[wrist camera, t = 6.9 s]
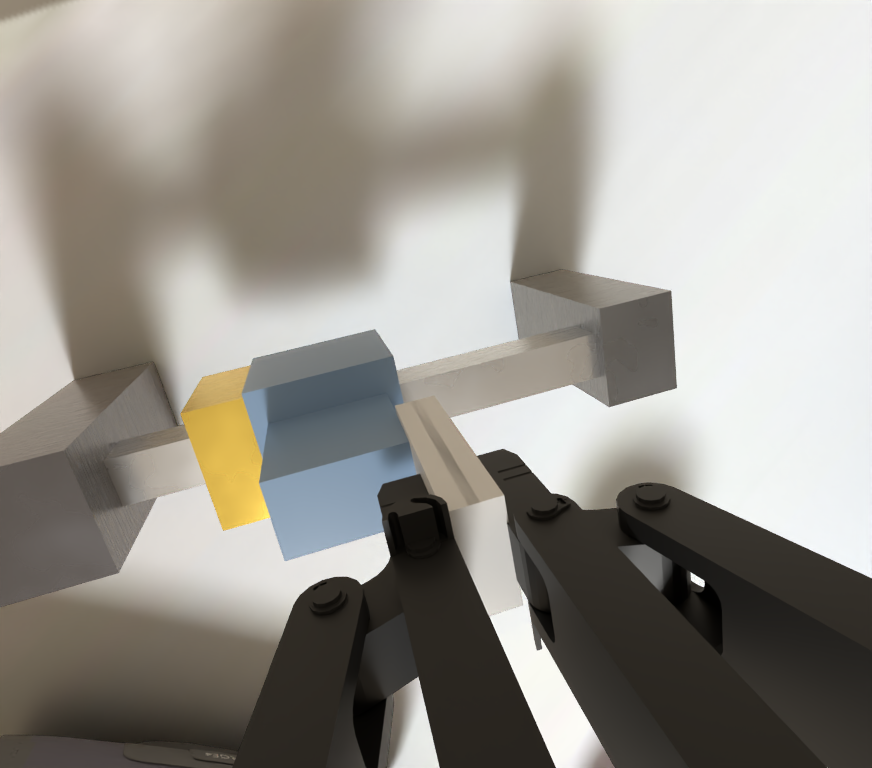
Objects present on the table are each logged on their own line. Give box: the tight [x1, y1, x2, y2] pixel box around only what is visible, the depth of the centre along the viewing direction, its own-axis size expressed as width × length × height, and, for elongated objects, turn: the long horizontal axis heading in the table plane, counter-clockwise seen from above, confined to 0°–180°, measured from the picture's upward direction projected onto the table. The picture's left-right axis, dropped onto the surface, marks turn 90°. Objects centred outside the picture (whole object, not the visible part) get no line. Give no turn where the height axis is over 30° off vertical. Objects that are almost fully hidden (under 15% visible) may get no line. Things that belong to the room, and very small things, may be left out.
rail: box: [0, 269, 677, 607], centre depth 24 cm, size 25×4×11 cm, turn 101°
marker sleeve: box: [242, 329, 417, 561], centre depth 19 cm, size 5×5×9 cm
